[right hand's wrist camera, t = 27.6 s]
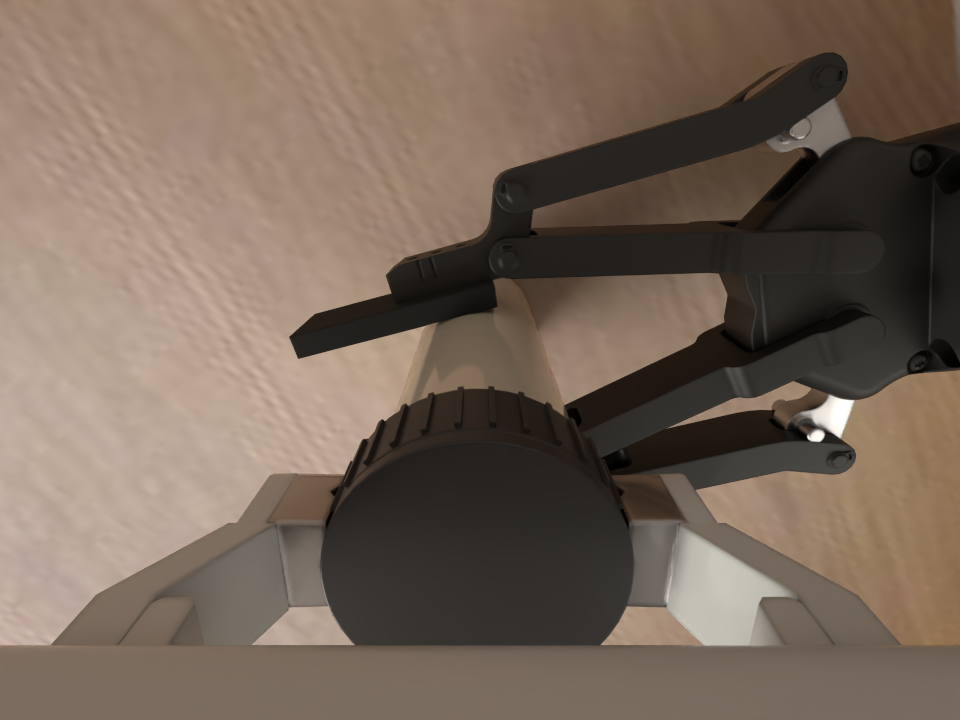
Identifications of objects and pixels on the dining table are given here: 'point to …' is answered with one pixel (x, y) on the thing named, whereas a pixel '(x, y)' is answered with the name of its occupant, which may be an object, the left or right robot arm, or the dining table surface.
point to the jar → (485, 353)
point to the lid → (477, 529)
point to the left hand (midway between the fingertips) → (335, 403)
